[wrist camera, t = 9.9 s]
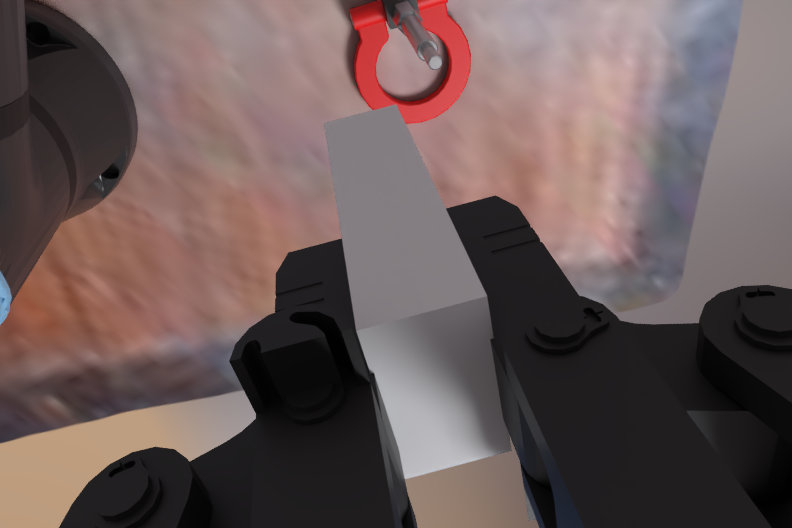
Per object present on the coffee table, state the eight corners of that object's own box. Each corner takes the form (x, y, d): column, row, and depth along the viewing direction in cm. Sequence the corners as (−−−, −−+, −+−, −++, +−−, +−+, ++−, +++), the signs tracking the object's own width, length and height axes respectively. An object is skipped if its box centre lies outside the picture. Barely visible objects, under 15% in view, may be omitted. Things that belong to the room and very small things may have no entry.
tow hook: (475, 99, 47) (453, -28, 41) (531, 178, 36) (512, 23, 31) (370, 131, 47) (334, 9, 41) (396, 218, 36) (353, 71, 31)
